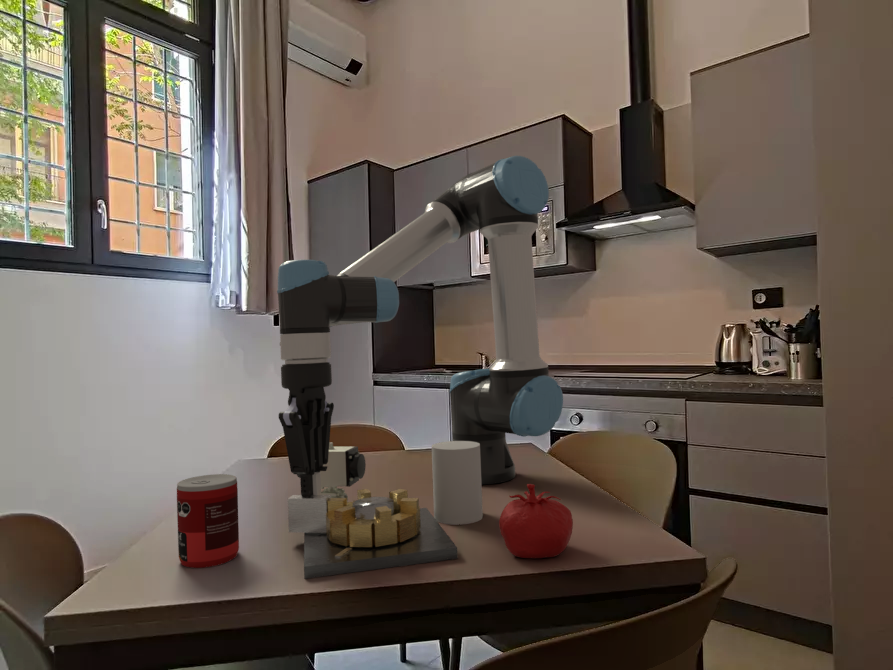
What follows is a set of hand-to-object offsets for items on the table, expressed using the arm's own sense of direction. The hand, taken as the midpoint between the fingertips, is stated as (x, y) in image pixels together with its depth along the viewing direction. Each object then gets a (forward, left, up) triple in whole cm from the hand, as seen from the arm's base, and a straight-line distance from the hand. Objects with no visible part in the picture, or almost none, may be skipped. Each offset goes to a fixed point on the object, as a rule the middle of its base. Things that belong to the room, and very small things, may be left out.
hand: (311, 515), depth 87 cm
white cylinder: (-24, -2, -4) cm, 24 cm away
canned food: (+14, +4, -4) cm, 15 cm away
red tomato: (-30, +17, -4) cm, 34 cm away
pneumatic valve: (-4, -15, -4) cm, 16 cm away
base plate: (-9, +6, -4) cm, 11 cm away
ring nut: (-6, +4, -2) cm, 8 cm away
